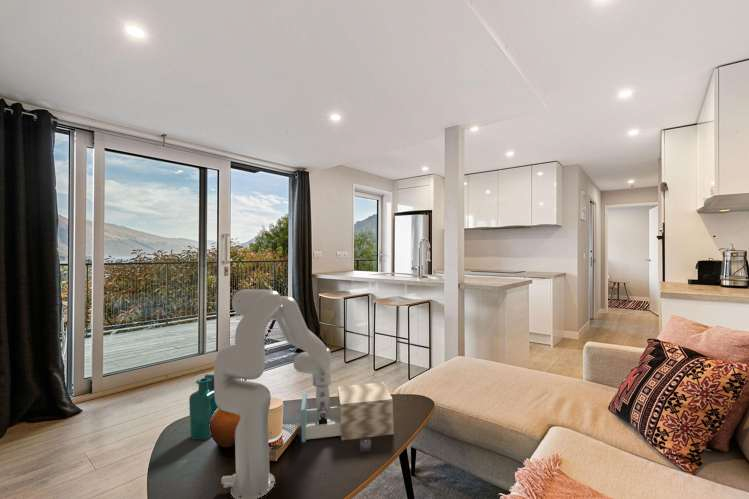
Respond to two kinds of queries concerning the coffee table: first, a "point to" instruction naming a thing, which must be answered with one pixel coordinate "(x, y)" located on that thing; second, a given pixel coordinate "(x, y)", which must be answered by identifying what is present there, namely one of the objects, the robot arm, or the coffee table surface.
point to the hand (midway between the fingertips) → (323, 422)
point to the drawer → (323, 429)
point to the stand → (365, 444)
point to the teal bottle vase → (202, 408)
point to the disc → (318, 422)
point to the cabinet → (365, 410)
